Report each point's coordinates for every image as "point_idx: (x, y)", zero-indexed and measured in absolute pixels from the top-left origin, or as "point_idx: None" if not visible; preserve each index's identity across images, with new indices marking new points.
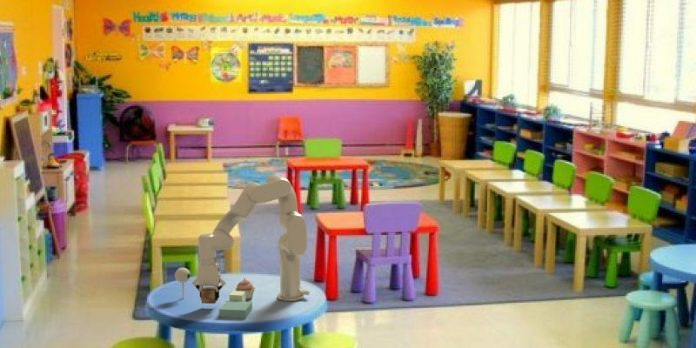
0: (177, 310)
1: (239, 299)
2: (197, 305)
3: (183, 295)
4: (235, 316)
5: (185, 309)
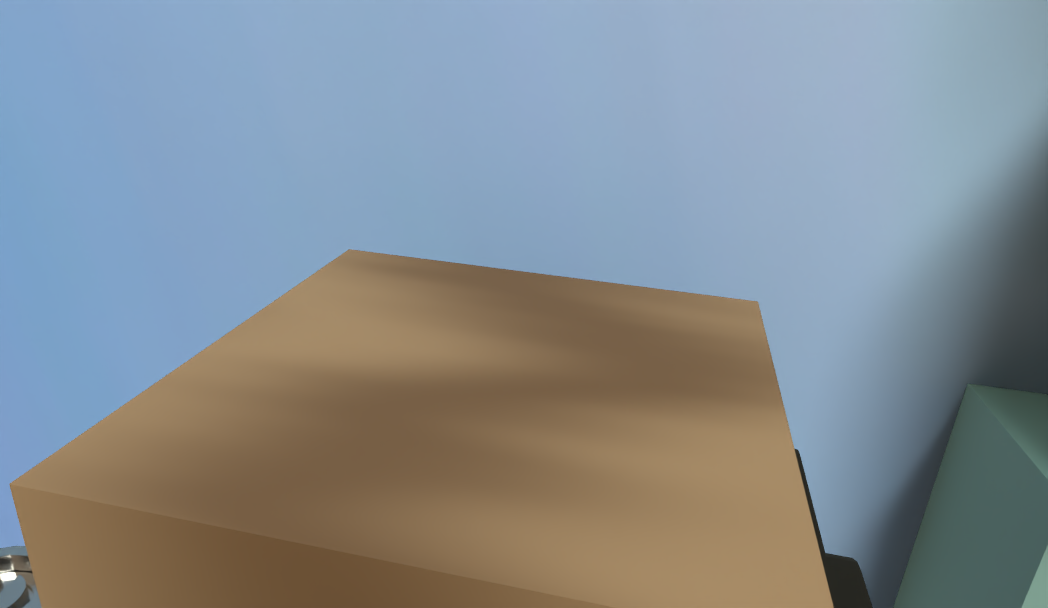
0: (11, 450)
1: None
2: (231, 158)
3: None
4: None
5: (111, 406)
